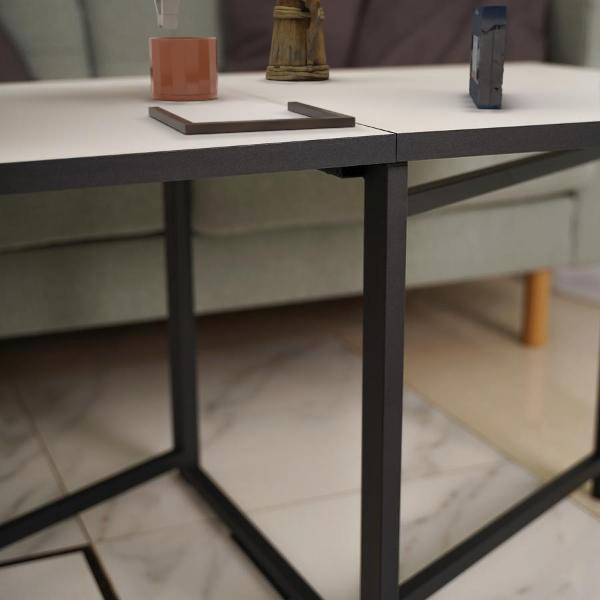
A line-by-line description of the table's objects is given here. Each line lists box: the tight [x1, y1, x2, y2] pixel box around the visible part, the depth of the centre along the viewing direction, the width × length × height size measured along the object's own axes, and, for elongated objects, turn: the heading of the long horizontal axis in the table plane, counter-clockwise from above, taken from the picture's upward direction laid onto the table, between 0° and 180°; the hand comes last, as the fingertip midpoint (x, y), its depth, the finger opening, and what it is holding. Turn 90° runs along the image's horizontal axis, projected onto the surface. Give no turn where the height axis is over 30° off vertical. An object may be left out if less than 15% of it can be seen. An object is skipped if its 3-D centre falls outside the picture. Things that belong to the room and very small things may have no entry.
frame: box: [147, 101, 356, 135], centre depth 82 cm, size 15×14×1 cm
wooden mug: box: [264, 0, 330, 82], centre depth 125 cm, size 9×14×18 cm, turn 22°
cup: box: [148, 36, 219, 102], centre depth 102 cm, size 7×7×6 cm
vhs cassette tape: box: [468, 5, 508, 110], centre depth 99 cm, size 18×3×10 cm, turn 171°
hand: (168, 29), depth 109 cm, fingers closed
